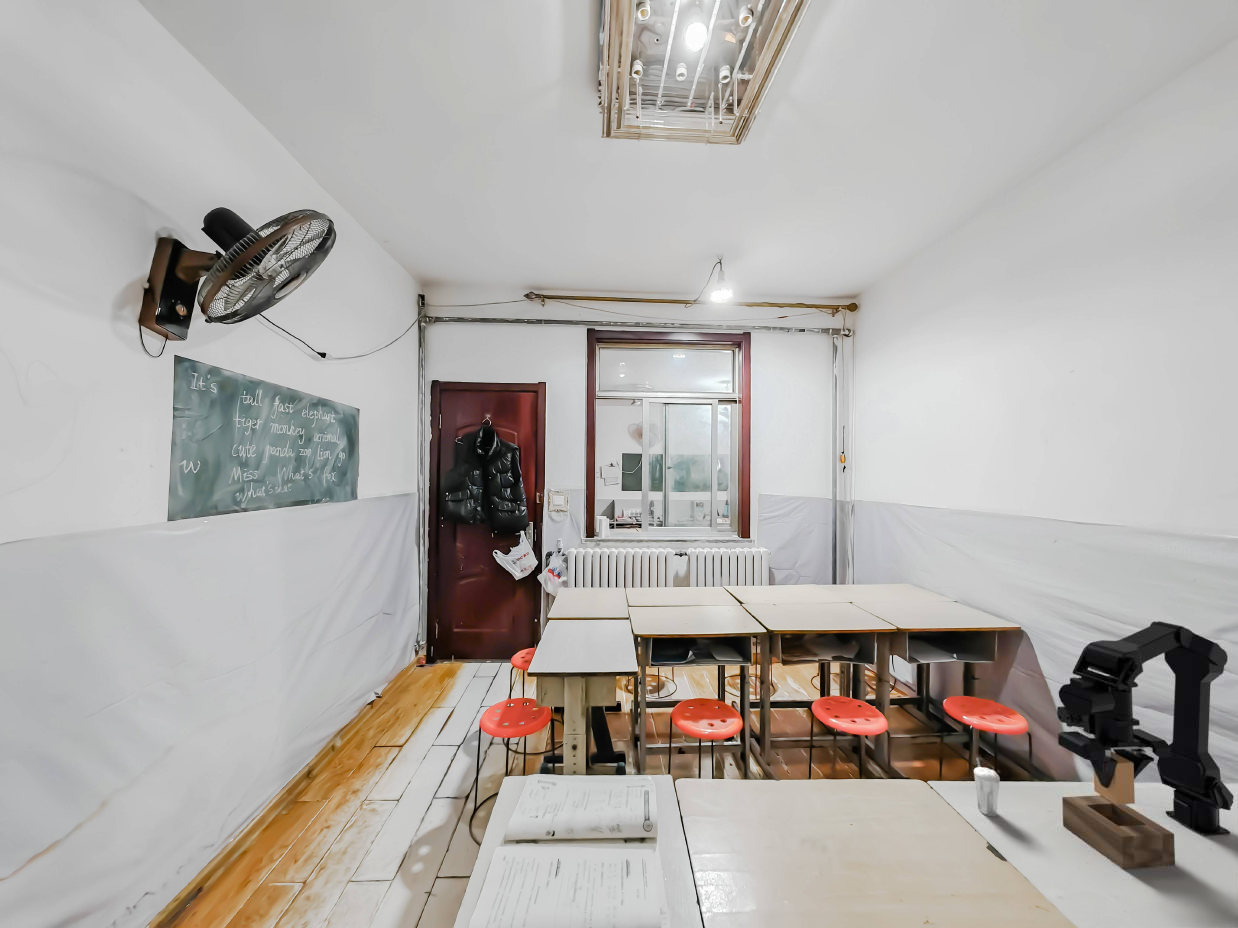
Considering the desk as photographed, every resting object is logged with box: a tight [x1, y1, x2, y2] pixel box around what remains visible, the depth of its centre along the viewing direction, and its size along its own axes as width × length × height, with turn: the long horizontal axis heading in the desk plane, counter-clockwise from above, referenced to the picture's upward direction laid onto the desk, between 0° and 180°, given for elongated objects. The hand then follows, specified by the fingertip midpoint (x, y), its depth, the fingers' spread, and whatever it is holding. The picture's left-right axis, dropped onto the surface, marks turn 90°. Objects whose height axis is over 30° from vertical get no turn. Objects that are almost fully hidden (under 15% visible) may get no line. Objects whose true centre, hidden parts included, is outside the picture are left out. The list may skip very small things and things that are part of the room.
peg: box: [1093, 750, 1136, 805], centre depth 94 cm, size 4×4×8 cm
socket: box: [1061, 794, 1176, 870], centre depth 94 cm, size 11×11×6 cm
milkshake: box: [973, 757, 1001, 817], centre depth 104 cm, size 4×5×10 cm
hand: (1114, 786), depth 94 cm, fingers closed on peg, 4 cm apart
